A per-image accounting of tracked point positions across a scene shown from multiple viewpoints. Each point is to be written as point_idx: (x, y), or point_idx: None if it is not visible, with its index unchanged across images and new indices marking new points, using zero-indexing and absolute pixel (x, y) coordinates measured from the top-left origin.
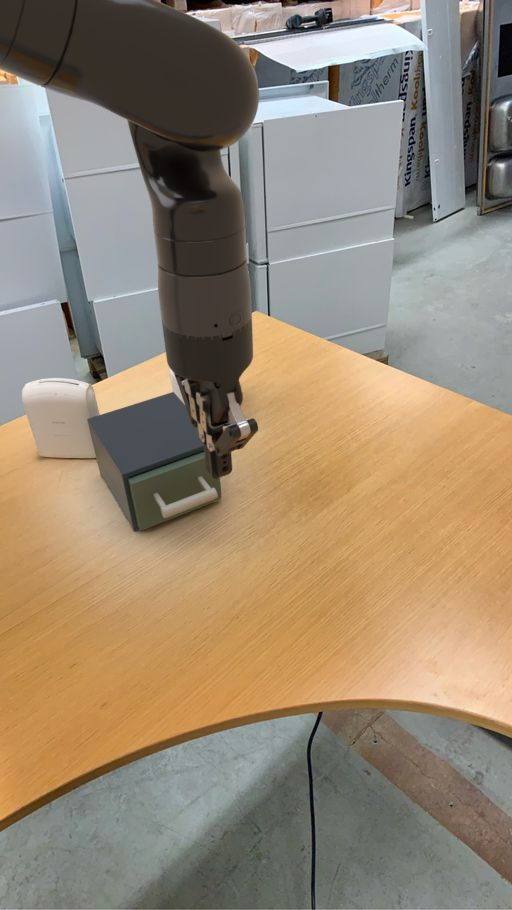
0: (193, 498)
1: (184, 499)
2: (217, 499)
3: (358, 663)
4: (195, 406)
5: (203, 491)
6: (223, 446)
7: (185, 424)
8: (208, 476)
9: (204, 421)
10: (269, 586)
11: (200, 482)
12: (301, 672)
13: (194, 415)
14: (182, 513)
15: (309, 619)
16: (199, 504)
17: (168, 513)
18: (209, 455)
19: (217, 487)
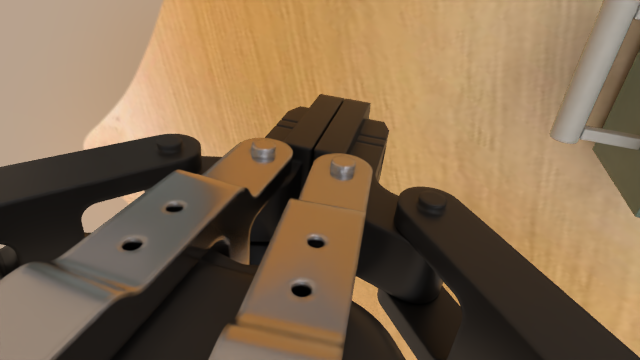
0: (584, 86)
1: (601, 67)
2: (596, 143)
3: (185, 83)
4: (258, 275)
5: (582, 118)
6: (59, 163)
7: None
8: (626, 161)
9: (139, 214)
10: (360, 79)
11: (623, 135)
12: (207, 11)
13: (308, 223)
14: (634, 62)
15: (273, 83)
16: (567, 89)
17: (604, 7)
18: (300, 130)
19: (604, 159)
